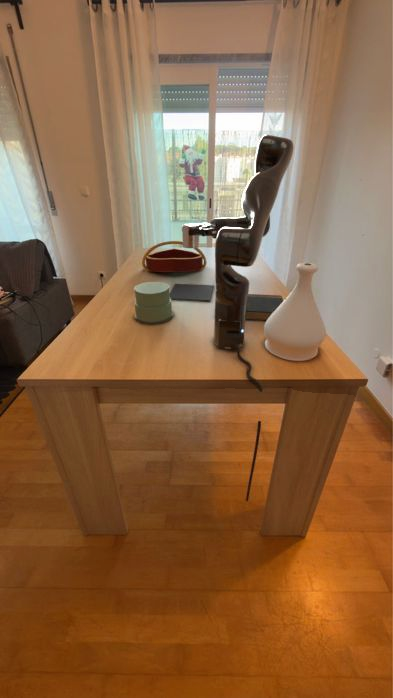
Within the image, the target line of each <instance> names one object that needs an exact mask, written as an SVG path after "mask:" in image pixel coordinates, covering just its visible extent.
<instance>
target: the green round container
mask: <svg viewBox="0 0 393 698" xmlns="http://www.w3.org/2000/svg"><path fill="white" fill-rule="evenodd" d="M133 289H134V297H135V298H134V300H133V301H134V302H133V304H134V311H135V314H134V319H135V320H136V322H138V323H140V324H144V325H162V324H165V323H168V322H169V321H171V320H172V319H173V318H174V312H173V306H172V304H173V303H172V302H173V301H172V300H171V298H170V296H169V294H170V286H169V284H167V283H166V282H162V281H147V282H142V283H139V284H137V285H135V286H134V288H133Z"/></svg>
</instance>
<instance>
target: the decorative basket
mask: <svg viewBox="0 0 393 698" xmlns="http://www.w3.org/2000/svg"><path fill="white" fill-rule="evenodd" d="M167 245H182V246H183V241H179V240H170V241H163V242H160V243H157V244H154V245H153V246H151V247H149V249H147V251H146V252H145V253H144V255H143V257H142V261H141V265H142V268H143V269H144V270H145V271H146V272H153V273H155V272H156V273H172V272H174V273H175V272H177V273H184V272H185V273H186V272H198V271H203V270H204V269H205V268H206V267H207V258H206V256H205V253H203V251H202V250H201V249H200V248H199V247H197V248H192V250H195V251H196V252H195V251H192V250H186V249H180V248H169V249H163V250H159V251H155V252H153V251H154V250H156V249H157V248H159V247H162V246H167ZM152 252H153V253H152Z"/></svg>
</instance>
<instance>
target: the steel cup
mask: <svg viewBox="0 0 393 698" xmlns="http://www.w3.org/2000/svg"><path fill="white" fill-rule="evenodd" d="M198 228H199V223H183V224H182V225H181V233H182V235H181V236H182V242H183V245H182V248H185V249H193V248H199V247H200V236H199V235H192V236H189V235H188V230H189V229H198Z"/></svg>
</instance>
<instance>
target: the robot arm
mask: <svg viewBox="0 0 393 698" xmlns="http://www.w3.org/2000/svg"><path fill="white" fill-rule="evenodd" d="M294 147H295V146H294V141H292V139H290V138H287V137H282V136H277V135H276V136H275V135H273V134H272V135H271V134H264V135H263V136H262V137H261V138H260V140H259V142H258V145H257V148H256V153H255V160H254V176H252V177H251V178H250V180H249V181H248V183H247V185H246V187H245V189H244V191H243V194H242V197H241V208H242V211H243V214H244V216H239V217H230V216H229V217H214V218H212V219H211V220H210V223H208V222H201V223H200V222H199V223H198V224H199V228H198V229H189V230H188V235H189V236H192V235H199V237H212V239H215V242H214V243H215V245H214V268H215V269H214V270H215V271H214V272H215V273H214V279H215V298H214V299H215V300H214V322H213V323H214V325H213V344H214V345H215V346H216V347H217V349H219V350H232V351H236V356H237V358H238V359H239V360H240V361H241V363H244V364H246V365H247V367H248V368H247V369H246V376H247V378H248V379H249V380H250V381H252V382H253V383H255V385H256V386H257V389H258V391H259V392H263V388H262V384H261V383H260V382H259V380H257V379H256V378H255V377H253V376H251V374H250V371H251V369H252V364H251V363H250V362H249V361H248V360H246V359H244V358H243V357H242V356H241V352H240V348H241V347H242V346H244V343H245V329H246V321H247V320H246V311H247V301H248V294H249V292H250V291H249V290H250V280H249V279H248V278H247V277H246V276H245V275H242V274H240V273H239V272H238V271H236V270H235V269H234V268H233V267H240V268H241V267H243V268H248V267H252V266H253V265H254V264H255V262H256V260H257V258H258V256H259V253H260V248H261V245H262V241H263V238H264V237H266V236H267V234H269V232H270V228H271V213H272V210H273V208H274V206H275V202H276V200H277V197H278V194H279V190H280V186H281V184H282V181H283V179H284V176H285V175H286V173H287V171H288V168H289V165H290V164H291V161H292V158H293V155H294ZM261 427H262V421H261V420H258V421H257V427H256V428H257V429H256V437H255V445H254V451H253V455H252V462H251V468H250V473H249V479H248V484H247V488H246V489H247V490H246V497H245V501H246V502H249V499H250V491H251V486H252V480H253V477H254V476H253V475H254V471H255V466H256V460H257V456H258V455H257V453H258V449H259V444H260V443H259V442H260V435H261Z"/></svg>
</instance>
